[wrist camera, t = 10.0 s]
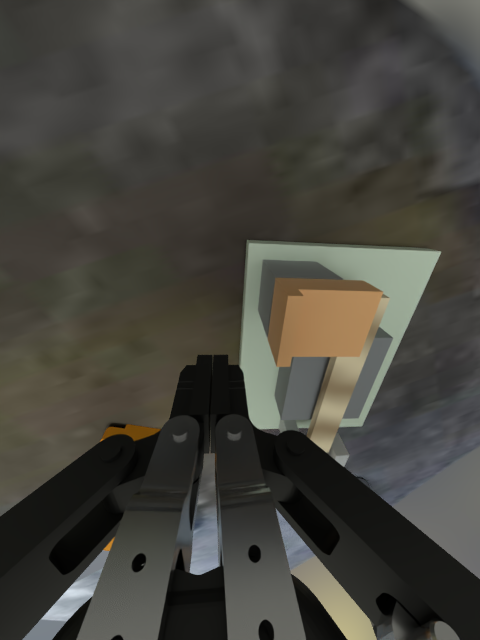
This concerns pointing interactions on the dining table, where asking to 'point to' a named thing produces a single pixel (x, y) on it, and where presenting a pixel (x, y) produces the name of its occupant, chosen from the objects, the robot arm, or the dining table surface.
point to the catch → (320, 318)
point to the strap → (340, 388)
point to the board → (348, 266)
